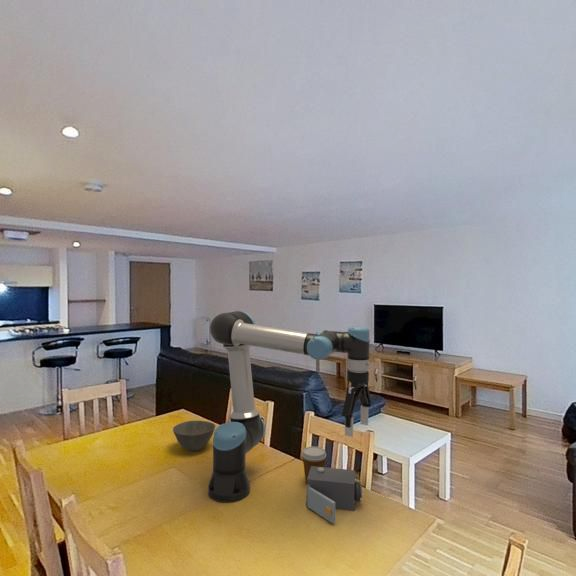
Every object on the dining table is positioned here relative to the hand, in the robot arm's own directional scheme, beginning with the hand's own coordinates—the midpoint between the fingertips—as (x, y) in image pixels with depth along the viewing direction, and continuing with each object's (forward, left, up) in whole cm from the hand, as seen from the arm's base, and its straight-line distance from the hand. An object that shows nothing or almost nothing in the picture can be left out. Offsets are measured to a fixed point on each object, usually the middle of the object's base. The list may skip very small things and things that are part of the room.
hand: (356, 429), depth 142 cm
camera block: (-7, -4, -24) cm, 25 cm away
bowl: (-73, +26, -24) cm, 82 cm away
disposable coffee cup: (-16, +7, -24) cm, 30 cm away
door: (-11, -14, -24) cm, 30 cm away
